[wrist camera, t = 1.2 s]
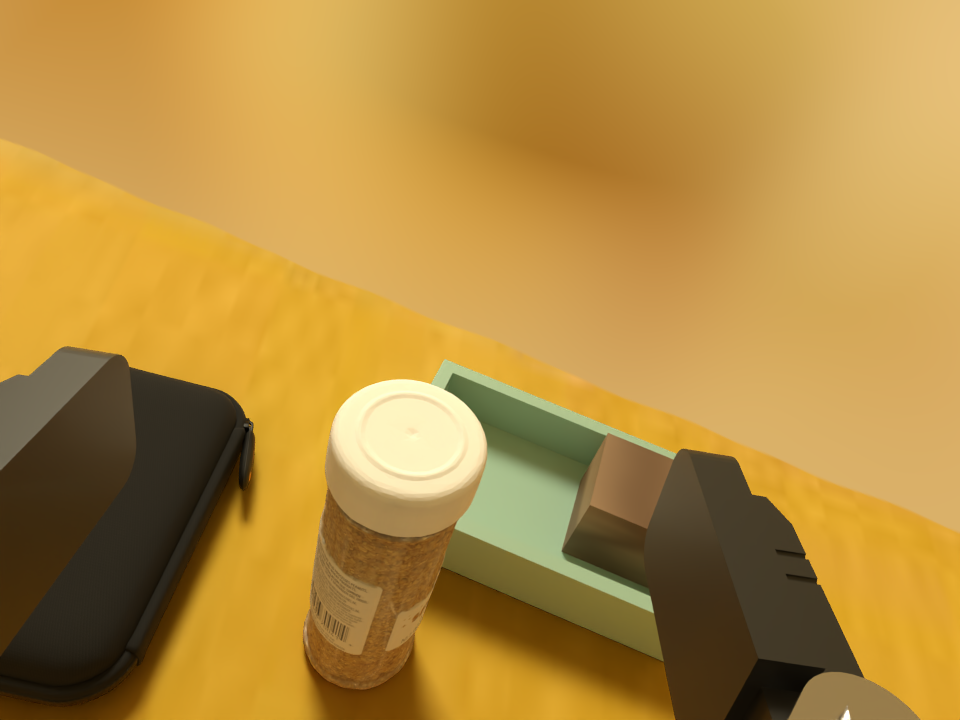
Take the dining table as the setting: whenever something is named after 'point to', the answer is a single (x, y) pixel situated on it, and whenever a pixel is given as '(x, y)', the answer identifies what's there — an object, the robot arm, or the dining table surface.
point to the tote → (540, 512)
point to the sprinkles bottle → (387, 524)
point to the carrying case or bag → (132, 547)
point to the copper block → (616, 508)
